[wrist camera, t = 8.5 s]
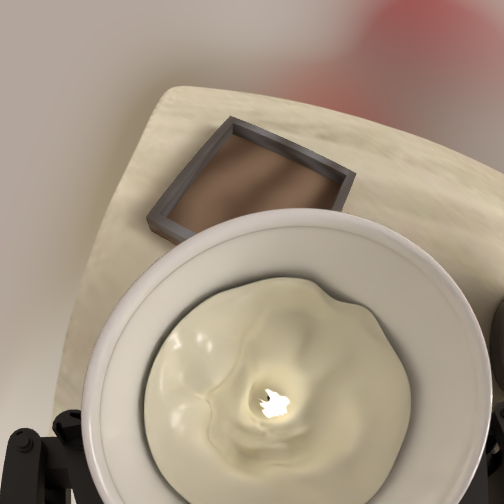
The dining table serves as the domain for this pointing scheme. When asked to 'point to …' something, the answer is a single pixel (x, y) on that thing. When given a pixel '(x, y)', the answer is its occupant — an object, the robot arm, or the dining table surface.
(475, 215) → the dining table surface
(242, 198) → the socket base
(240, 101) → the dining table surface
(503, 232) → the dining table surface
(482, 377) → the candle holder
